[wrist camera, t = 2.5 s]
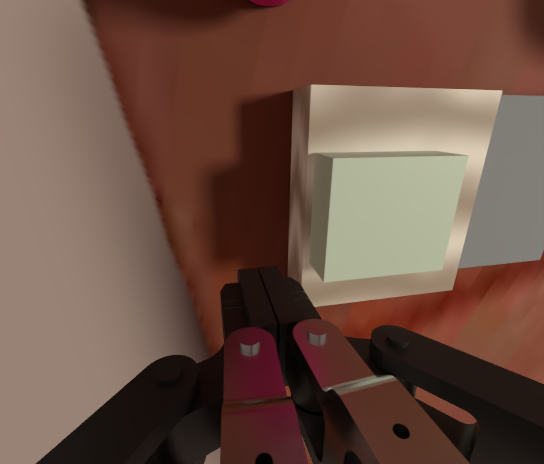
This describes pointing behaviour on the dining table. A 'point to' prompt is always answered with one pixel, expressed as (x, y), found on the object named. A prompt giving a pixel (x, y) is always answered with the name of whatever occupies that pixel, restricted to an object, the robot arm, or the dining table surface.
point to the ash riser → (376, 138)
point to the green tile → (383, 212)
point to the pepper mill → (269, 2)
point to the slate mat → (510, 188)
